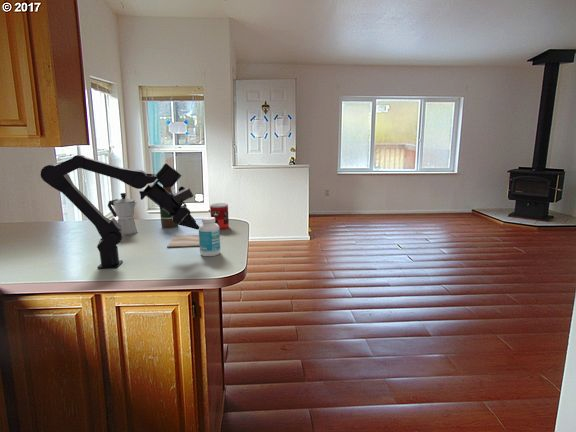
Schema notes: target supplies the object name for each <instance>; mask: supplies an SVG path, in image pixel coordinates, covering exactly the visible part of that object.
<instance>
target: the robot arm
mask: <svg viewBox="0 0 576 432" xmlns="http://www.w3.org/2000/svg"><path fill="white" fill-rule="evenodd" d="M78 169H82V170H85V171H89V172H92V173H96V174H99V175H103V176H106V177H109V178H113V179H115V180H118V181H121V182H122V183H124V184H126V185H128V186H129V187H132V188H134V189H137V190H139V195H140V200H143V199H145V197H147V198H148V199H149V200H151V201H152V202H153V203H154V204H156V205H157V206H158V207H159V209H160V208H161V209H163V210H165V211H166V212H167V213H169V215H170V216H172V221H173V222H174V223H175V224H177V225H178V226H183V227H186V228H190V229H194V230H197V231H199V228H200V227H199V226H200V225H198V223H197V221H196V219H195V218H194V217H193V215H192V214H191V210H190V209H189V208H188V206H187V204H186V202H185V201H187V200H189V199H191V198H193V197H194V194H193V192H192V191H191V189H190V187H188V186H186V187H185V186H183V185H181V186H179V187H178V189H177V190H178V191H176V193H173V192H172V193H173V194H172V193H169V192H168V191H166V190H165V189H164V188H163V186H164V187H165V188H167V187H171V188H173V186H174V185H175V184H176V183H177V182H178V181H179V180H180V179H181V178H182V174H181V173H180V172H179V171H178V170H176V169H175V168H173V167H172V166H171V165H169V164H168V163H167V162H165V163H164V164H163V166H161V168H160V169H159V170H158V171H157V172H156V173H146V172H145V171H144V170H140V169H135V168H129V167H128V168H127V167H125V168H124V167H119V166H116V165H113V164H111V163H107V162H104V161H100V160H98V159H94V158H90V157H87V156H85V155H83V154H76V155H74V156H73V157H71V158H70V159H68V160H65V161H62V162H61V163H50V164H47V165H45V166H44V167H42V168H41V170H40V178H41V179H42V181H44V183H46V184H47V185H48V186H50V187H51V188H53V189H55V190H56V191H58V192H60V193H62V194H63V196H65V197H66V198H67V199H68V200H69V201H70V202H71V203H72V204H73V205H74V206H75V207H76V208H77V209H78V210H79V211H80V212H81V213H82V214H83V215H84V216H85V217H86V219H88V220H89V221H90V222H91V223H92V224H93V226H94V227H95V228H96V231H97V232H98V235H99V236H100V237H101V238H100V239H99V241H98V243H97V246H96V248H97V249H98V252H99V258H100V264H99V265H98V266H97V269H113V268H114V269H115V268H116V269H117V268H119V266H120V265H121V264H122V263H123V261H124V260H123V259H120V257H119V247H118V244H120V243H121V242H122V240H123V236H124V235H123V230H122V228H121V227H122V225H120V224H119V223H118V220H116V217H114V216H113V217H112V218H111V219H110V218H108V217H106V216H105V215H104V214H103V213H102V212H101V211H100V210H99V209H98V208H97V207H96V206H95V205H94V204H93V203H92V202H91V201H90V200H89V199H88V198H87V197H86V195H84V194H83V192H81V190H79V188H78V187H77V186H76V185H75V184H74V182H73V180H72V178H71V177H70V175H69V173H72V172H74V171H76V170H78ZM151 184H152V185H151ZM140 189H141V190H140ZM142 189H143V190H142Z"/></svg>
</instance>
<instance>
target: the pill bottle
mask: <svg viewBox="0 0 576 432" xmlns="http://www.w3.org/2000/svg"><path fill="white" fill-rule="evenodd" d="M201 222H202V223H200V225H198V226H199V227H200V228H199V229H198V235H199V243H200V247H199V254H200V255H201V256H202V257H216V256H218V255H220V254H221V235H220V234H221V233H220V231H221V230H219V225H218V224H216V223H215V218H214V217H211V216H206V217H202V218H201Z"/></svg>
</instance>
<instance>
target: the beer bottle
mask: <svg viewBox="0 0 576 432" xmlns="http://www.w3.org/2000/svg"><path fill="white" fill-rule="evenodd" d="M162 187H163V188H164V189H165V190H166V191H168V192H169V193H172V194H174V193H173V191H172V187H167V188H165V187H164V186H163V185H162ZM159 210H160V211H159V212H160V213H159V214H160V223H161V227H162V228H164V229H172V228H176V227H178V226H179V225H177V224H175V223H174V222H173V221H172V216H170V215H169V213H167V212H166V211H165V210H163V209H161V208H160V207H159Z"/></svg>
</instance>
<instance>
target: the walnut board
mask: <svg viewBox="0 0 576 432" xmlns="http://www.w3.org/2000/svg"><path fill="white" fill-rule="evenodd" d="M199 246H200V243H199V234H185V235H183V234H182V235H173V237H172V238H171V240H170V241H169V243H168V244H167V246H166V248H167V249H169V248H170V249H174V248H175V249H177V248H194V247H195V248H196V247H198V248H200V247H199Z"/></svg>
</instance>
